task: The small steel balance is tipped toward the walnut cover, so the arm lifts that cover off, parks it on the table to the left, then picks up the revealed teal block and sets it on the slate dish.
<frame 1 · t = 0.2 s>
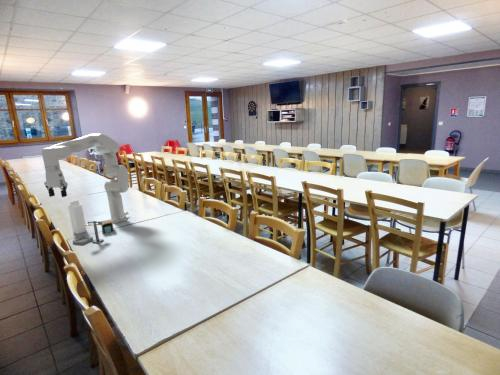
hand: (58, 196, 184), 31 cm above the table, fingers open, 9 cm apart
milk: (80, 232, 212), on the table
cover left: (108, 231, 210), on the table
block: (107, 228, 209), in the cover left
balance beam: (94, 223, 189), point 13 cm above the table, hinge at -18.0°
dish: (83, 241, 193), on the table
balance stand: (98, 241, 191), on the table
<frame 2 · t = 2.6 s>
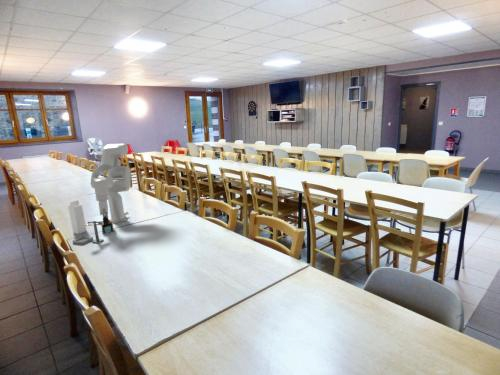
hand: (106, 222, 207), 7 cm above the table, fingers open, 9 cm apart
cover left: (108, 231, 210), on the table, touching gripper
everything else where it was.
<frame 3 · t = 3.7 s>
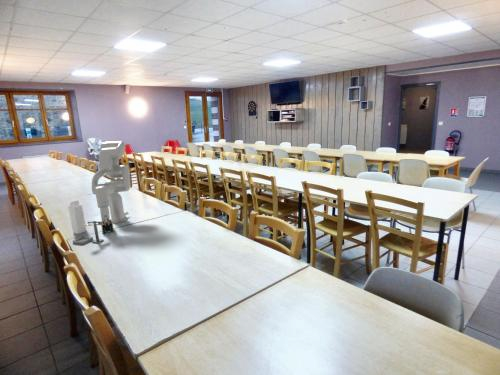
hand: (107, 229, 209), 2 cm above the table, fingers closed on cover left, 6 cm apart
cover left: (108, 231, 210), on the table, touching gripper
everything else where it was.
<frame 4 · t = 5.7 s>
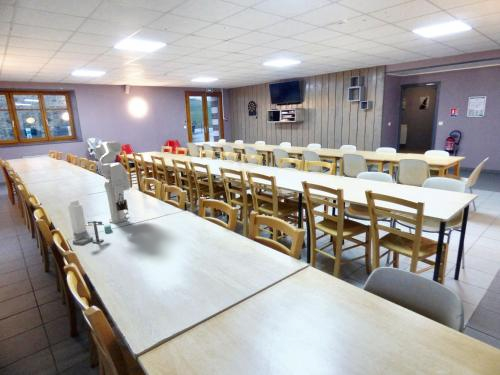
hand: (122, 208, 206), 16 cm above the table, fingers closed on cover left, 6 cm apart
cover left: (122, 210, 205), point 14 cm above the table, tilted 5°, touching gripper
everything else where it was.
when the fingers open (3 cm above the table, at t = 7.9 s): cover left stays where it is and tips over, point 3 cm above the table.
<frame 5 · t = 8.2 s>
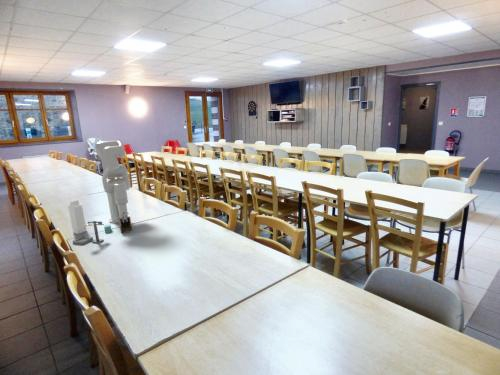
hand: (125, 226, 209), 3 cm above the table, fingers open, 6 cm apart
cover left: (126, 228, 204), point 3 cm above the table, tilted 58°, touching gripper
everything else where it was.
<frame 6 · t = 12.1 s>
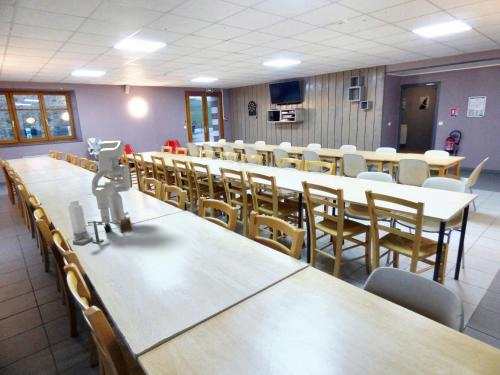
hand: (108, 230, 210), 0 cm above the table, fingers closed on block, 3 cm apart
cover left: (125, 226, 206), point 3 cm above the table, tilted 90°
block: (107, 228, 209), on the table, tilted 9°, touching gripper
everything else where it was.
when the fingers open (3 cm above the table, at t = 17.0 s): block drops 2 cm, resting on dish.
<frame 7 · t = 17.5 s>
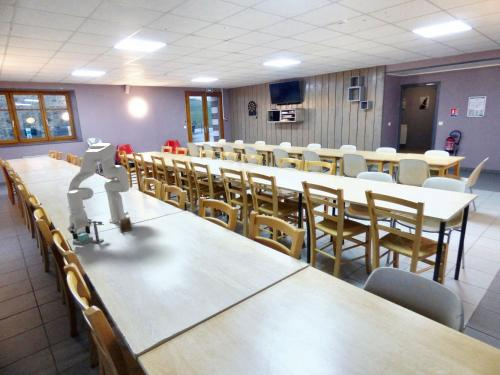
hand: (82, 236, 192), 4 cm above the table, fingers open, 9 cm apart
block: (83, 237, 192), point 3 cm above the table, touching dish
everything else where it was.
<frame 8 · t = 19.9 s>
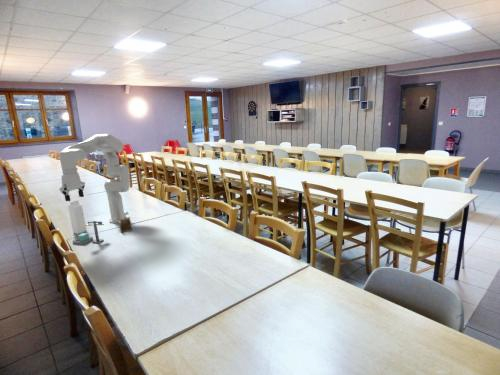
hand: (75, 198, 187), 28 cm above the table, fingers open, 9 cm apart
nothing on the table moved.
at the end: block inside the target area on the dish (0.6 cm from its centre), point 3.0 cm above the dish's base; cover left moved 14.6 cm from its start; the gripper is holding nothing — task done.
